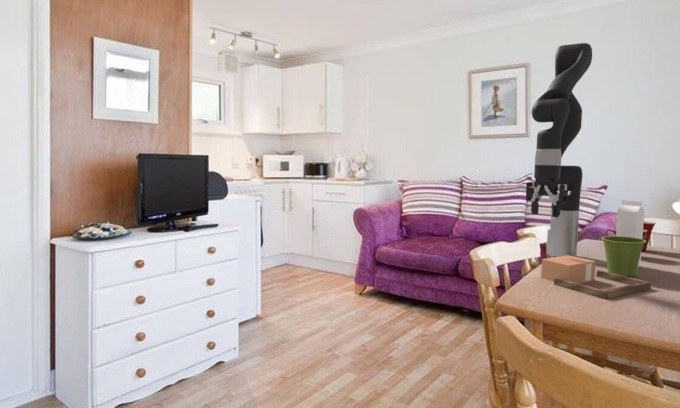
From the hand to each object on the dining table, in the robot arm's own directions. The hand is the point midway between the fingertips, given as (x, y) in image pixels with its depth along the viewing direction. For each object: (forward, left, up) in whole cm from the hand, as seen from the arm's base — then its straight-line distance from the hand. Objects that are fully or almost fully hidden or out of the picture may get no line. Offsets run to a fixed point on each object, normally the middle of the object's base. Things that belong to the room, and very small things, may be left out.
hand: (545, 215), depth 145 cm
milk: (+8, +31, -18) cm, 37 cm away
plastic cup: (-6, +61, -18) cm, 64 cm away
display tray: (+19, 0, -18) cm, 26 cm away
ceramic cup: (-2, +46, -18) cm, 49 cm away
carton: (+10, -1, -18) cm, 21 cm away
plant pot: (+14, +18, -18) cm, 29 cm away
